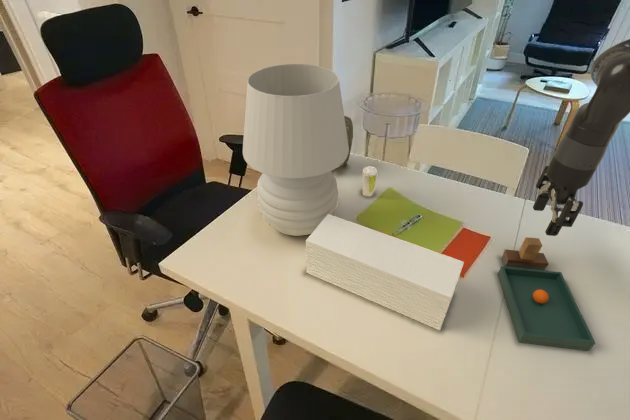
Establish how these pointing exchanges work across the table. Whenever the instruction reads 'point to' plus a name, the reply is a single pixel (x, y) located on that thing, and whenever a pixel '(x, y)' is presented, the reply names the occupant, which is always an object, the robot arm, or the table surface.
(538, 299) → the ball
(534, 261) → the brush
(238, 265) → the table surface
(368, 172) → the milkshake
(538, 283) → the tray
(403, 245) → the stack of papers
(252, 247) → the table surface
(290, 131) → the table lamp
